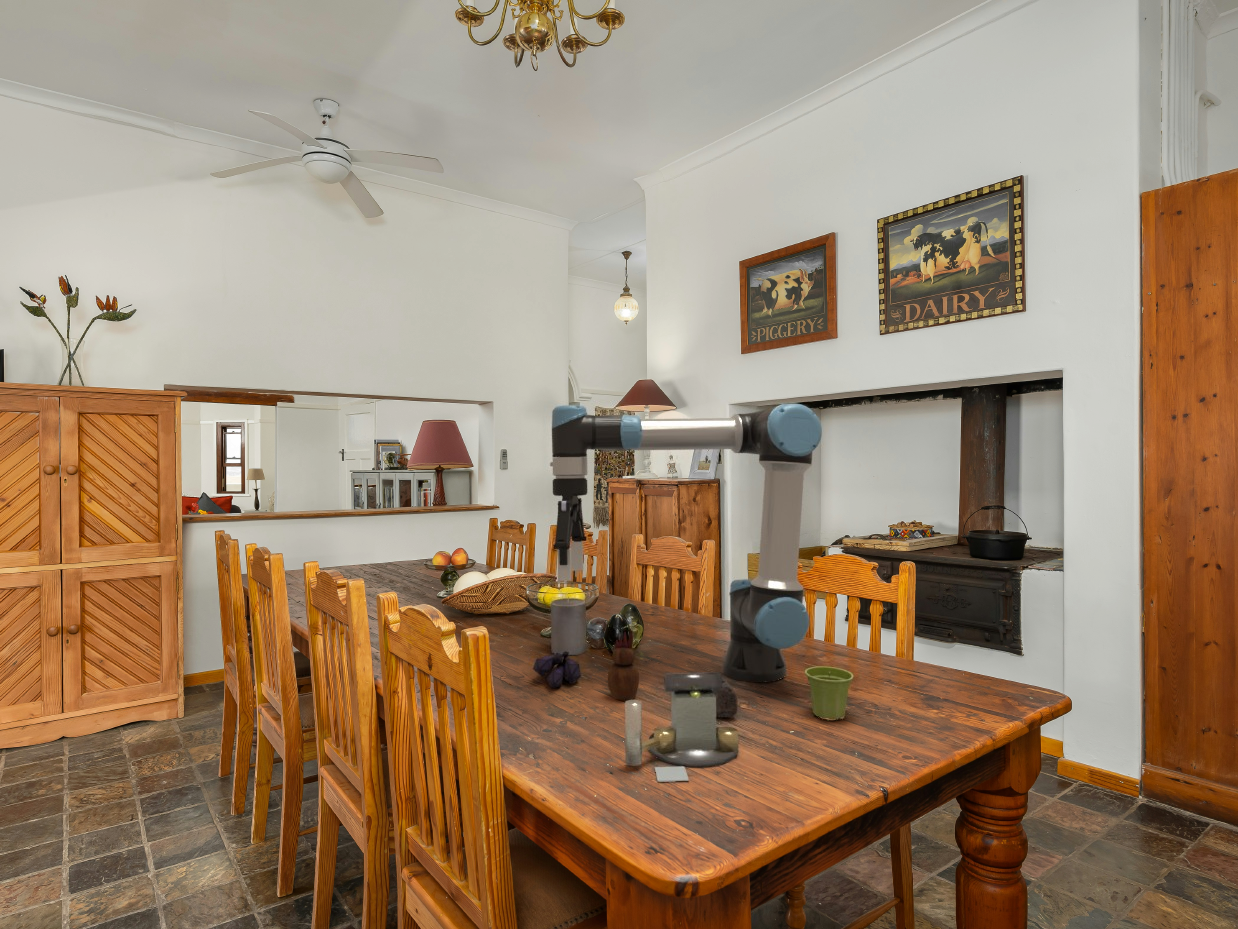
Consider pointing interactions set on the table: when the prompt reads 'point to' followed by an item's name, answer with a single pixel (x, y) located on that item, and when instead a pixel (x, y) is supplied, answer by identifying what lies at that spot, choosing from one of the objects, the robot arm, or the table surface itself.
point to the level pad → (671, 774)
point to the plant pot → (829, 690)
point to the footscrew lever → (633, 735)
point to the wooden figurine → (623, 671)
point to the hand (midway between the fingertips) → (571, 575)
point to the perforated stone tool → (726, 701)
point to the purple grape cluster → (558, 669)
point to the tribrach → (697, 722)
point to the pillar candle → (568, 626)
